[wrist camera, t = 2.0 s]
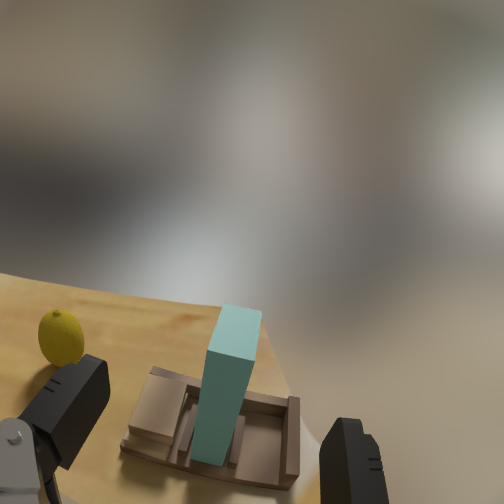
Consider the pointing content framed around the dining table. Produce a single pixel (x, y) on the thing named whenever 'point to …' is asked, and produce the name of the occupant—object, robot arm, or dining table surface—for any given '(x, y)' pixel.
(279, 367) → the dining table surface
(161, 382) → the offcut upper
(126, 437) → the offcut lower
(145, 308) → the dining table surface
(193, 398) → the rack
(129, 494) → the dining table surface
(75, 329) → the lemon
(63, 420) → the robot arm
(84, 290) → the dining table surface
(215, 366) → the teal rectangular block
